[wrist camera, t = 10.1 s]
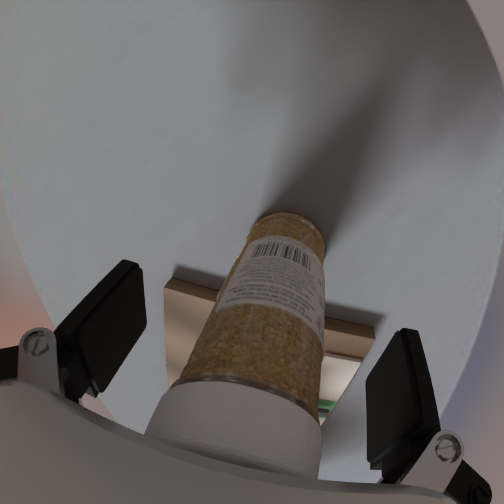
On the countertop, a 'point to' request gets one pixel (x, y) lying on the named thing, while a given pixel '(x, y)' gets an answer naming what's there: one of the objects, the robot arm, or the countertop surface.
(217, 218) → the countertop surface
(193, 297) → the gauge frame
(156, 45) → the countertop surface
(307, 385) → the sprinkles bottle
